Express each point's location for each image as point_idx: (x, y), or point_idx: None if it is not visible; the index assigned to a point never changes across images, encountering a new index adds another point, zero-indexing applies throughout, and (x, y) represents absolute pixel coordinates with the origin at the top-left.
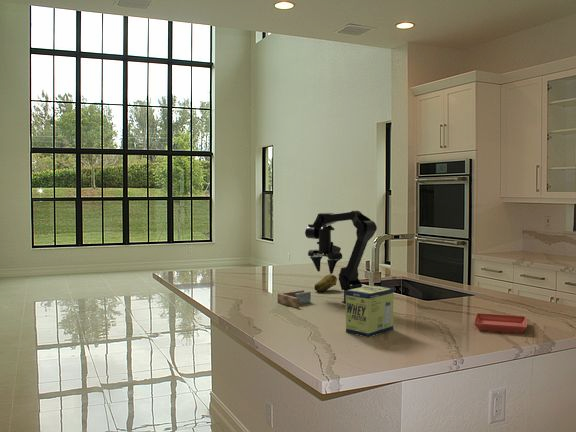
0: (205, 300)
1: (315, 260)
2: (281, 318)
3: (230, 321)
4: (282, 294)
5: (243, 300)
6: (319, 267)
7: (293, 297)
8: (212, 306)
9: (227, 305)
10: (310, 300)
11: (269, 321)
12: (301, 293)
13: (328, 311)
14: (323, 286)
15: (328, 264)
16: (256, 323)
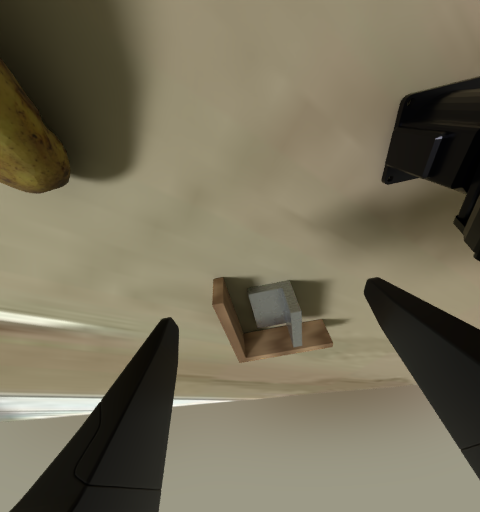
0: None
1: (147, 508)
2: (373, 356)
3: (327, 392)
4: (256, 357)
5: (181, 373)
6: (161, 360)
7: (313, 348)
8: (216, 399)
9: (219, 389)
10: (291, 285)
11: (372, 368)
12: (301, 334)
13: (424, 281)
14: (46, 133)
15: (458, 431)
16: (365, 378)
